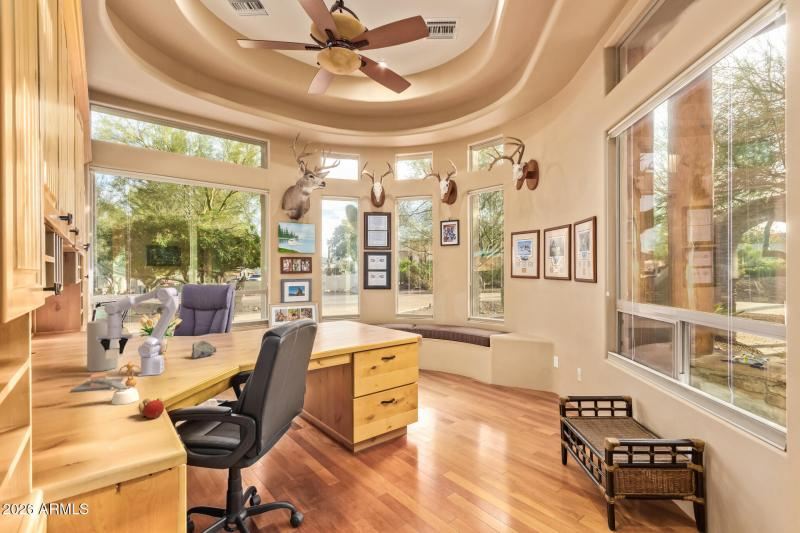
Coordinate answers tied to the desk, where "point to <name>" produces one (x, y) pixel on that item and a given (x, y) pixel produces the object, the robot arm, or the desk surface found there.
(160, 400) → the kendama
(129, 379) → the figurine
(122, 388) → the inkwell
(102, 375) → the terracotta brick
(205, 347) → the mineral rock
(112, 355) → the cream brick
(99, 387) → the baseplate
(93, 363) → the cylinder vase
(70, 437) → the desk surface
